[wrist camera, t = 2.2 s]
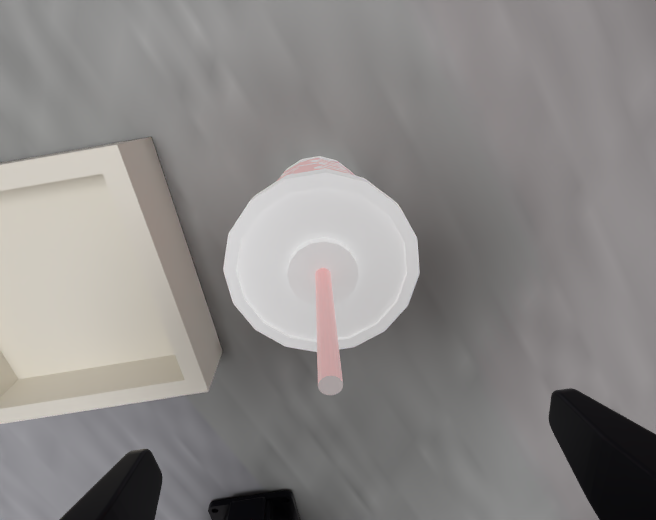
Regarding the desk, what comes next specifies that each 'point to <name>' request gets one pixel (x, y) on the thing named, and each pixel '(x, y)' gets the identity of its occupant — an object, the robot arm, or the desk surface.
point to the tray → (96, 286)
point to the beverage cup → (321, 262)
